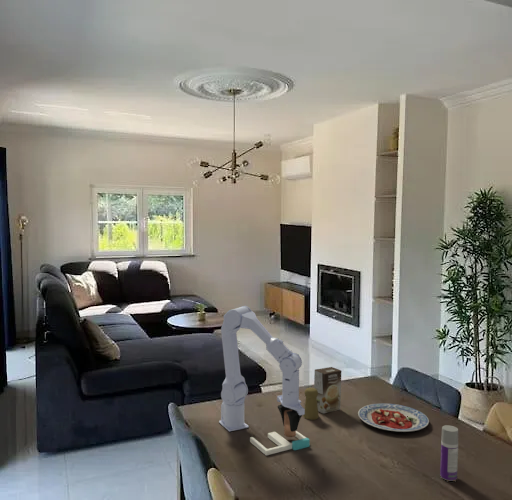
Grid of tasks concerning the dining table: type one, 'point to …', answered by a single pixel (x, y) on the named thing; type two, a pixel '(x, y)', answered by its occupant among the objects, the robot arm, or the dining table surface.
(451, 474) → the container
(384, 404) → the ceramic plate
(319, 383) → the coffee box
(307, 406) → the olive yellow shaker
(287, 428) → the peg
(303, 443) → the slot rack
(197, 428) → the dining table surface
